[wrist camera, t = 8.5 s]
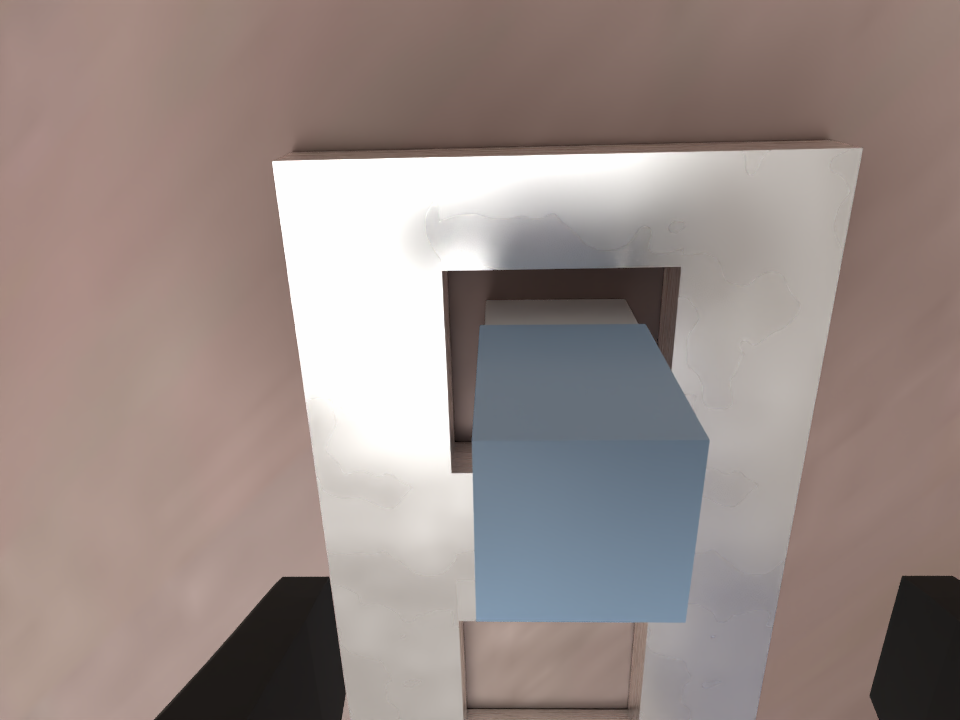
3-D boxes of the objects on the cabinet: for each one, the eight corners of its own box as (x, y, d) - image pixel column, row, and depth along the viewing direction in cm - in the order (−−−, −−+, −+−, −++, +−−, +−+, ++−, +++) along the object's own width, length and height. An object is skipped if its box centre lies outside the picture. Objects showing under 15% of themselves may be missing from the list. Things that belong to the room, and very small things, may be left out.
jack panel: (830, 139, 15) (863, 147, 14) (725, 761, 23) (739, 805, 22) (291, 152, 16) (272, 161, 14) (369, 759, 24) (361, 802, 22)
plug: (629, 295, 17) (709, 440, 10) (619, 425, 18) (685, 623, 12) (481, 295, 17) (472, 440, 11) (484, 425, 18) (475, 621, 12)
